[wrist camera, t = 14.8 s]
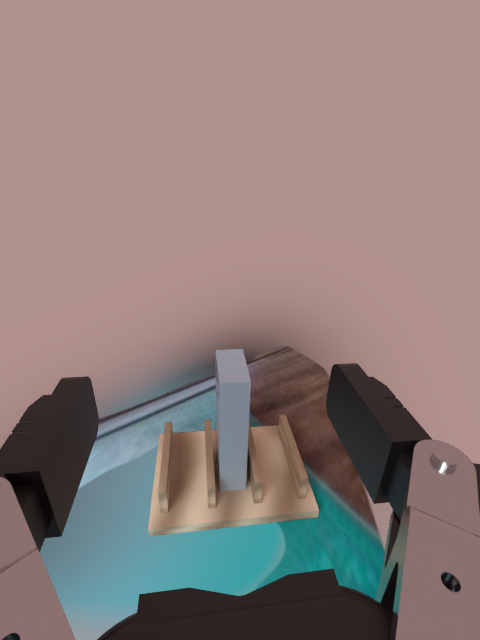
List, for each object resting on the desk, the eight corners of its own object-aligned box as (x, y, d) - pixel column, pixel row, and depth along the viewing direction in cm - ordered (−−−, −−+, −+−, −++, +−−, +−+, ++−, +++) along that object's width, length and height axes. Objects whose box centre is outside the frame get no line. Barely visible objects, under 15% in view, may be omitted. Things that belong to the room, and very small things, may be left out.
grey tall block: (219, 491, 38) (219, 383, 31) (216, 450, 43) (215, 350, 36) (245, 489, 38) (250, 381, 31) (239, 448, 43) (242, 348, 37)
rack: (149, 536, 34) (144, 507, 32) (160, 440, 46) (157, 415, 44) (317, 517, 36) (323, 489, 34) (287, 430, 48) (290, 406, 46)
